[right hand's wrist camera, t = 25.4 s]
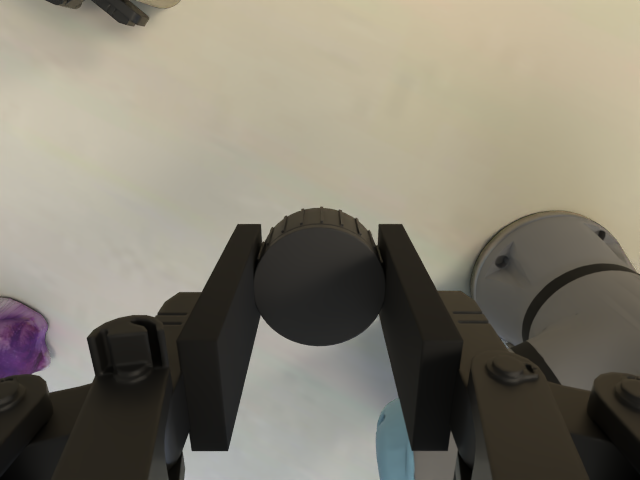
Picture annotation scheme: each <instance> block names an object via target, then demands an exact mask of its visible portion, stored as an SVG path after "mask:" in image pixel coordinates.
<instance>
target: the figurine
mask: <svg viewBox="0 0 640 480" xmlns="http://www.w3.org/2000/svg"><path fill="white" fill-rule="evenodd" d="M47 330H48V324H47V322H46V320H45V319H44V317H43V316H42V315H41V314H40V313H38V312H36V311H34V310H32V309H31V308H29V307H27V306H25V305H24V304H22V303H20V302H17V301H15V300H12V299H11V298H0V379H1V378H6V377H8V376H13V375H22V374H32V373H34V372H37V371H41V370H45V369H46V368H48V367H49V366H50V363H51V357H50V353H49V350H48V348H47V346H46V343H45V334H46V331H47Z"/></svg>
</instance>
